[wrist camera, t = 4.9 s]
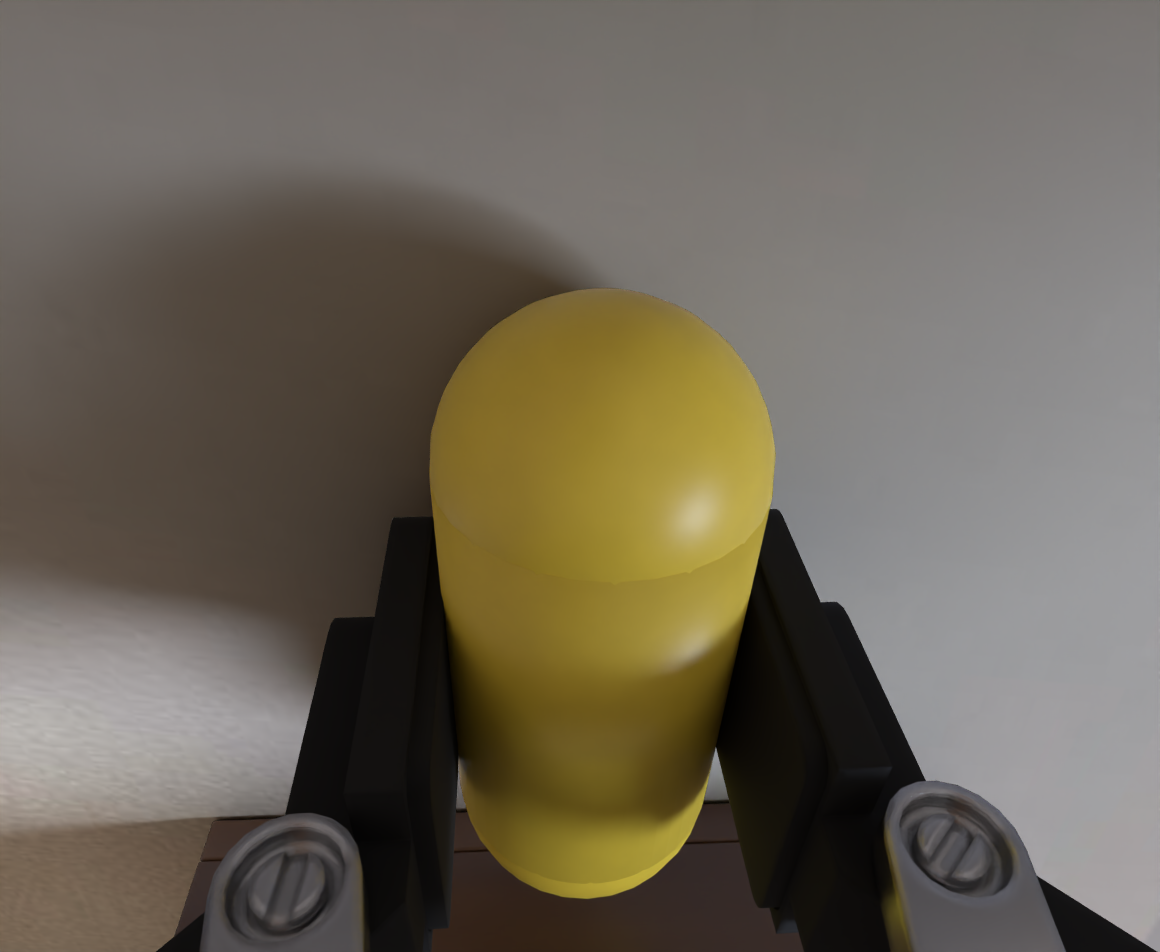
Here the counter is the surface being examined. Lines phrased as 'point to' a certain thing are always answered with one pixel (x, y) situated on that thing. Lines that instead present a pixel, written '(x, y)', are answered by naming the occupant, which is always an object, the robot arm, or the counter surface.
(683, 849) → the cabinet
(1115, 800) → the counter surface
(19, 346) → the counter surface
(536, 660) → the yellow pill capsule
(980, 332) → the counter surface
